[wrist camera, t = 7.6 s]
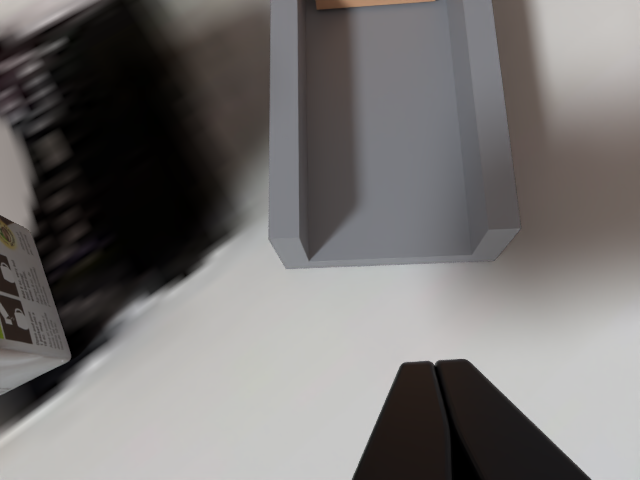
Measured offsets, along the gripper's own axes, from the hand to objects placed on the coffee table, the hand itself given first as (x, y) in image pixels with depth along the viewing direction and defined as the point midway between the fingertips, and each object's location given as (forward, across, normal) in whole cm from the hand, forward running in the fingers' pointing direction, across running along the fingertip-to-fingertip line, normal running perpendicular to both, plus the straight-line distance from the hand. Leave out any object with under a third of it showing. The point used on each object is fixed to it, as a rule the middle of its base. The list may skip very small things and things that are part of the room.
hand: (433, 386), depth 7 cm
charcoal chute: (+19, 0, 0) cm, 19 cm away
